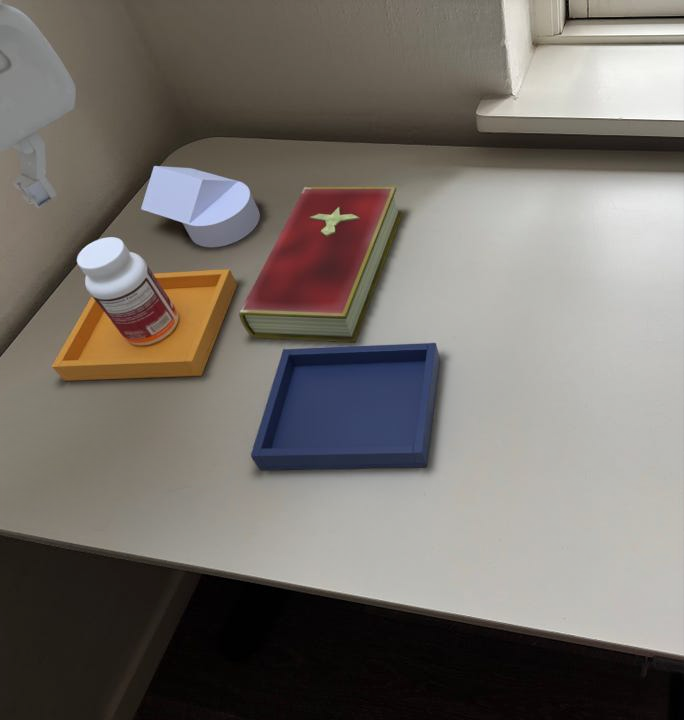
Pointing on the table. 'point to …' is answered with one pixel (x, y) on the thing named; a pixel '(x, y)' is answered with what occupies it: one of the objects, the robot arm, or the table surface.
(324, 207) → the hardcover book
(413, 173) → the table surface
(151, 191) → the wedge on round base
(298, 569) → the table surface
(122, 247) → the pill bottle
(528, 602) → the table surface
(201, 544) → the table surface
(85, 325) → the amber tray
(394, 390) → the navy tray
